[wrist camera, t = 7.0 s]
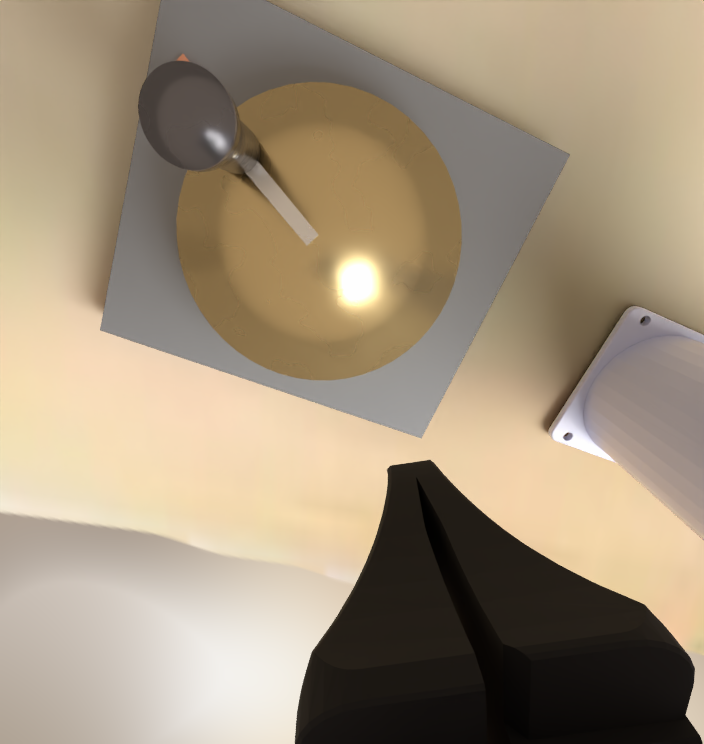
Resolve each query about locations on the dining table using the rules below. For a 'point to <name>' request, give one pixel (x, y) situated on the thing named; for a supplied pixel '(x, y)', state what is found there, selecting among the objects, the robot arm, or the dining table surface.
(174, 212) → the stand
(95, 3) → the dining table surface
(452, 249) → the brass disc with crank
